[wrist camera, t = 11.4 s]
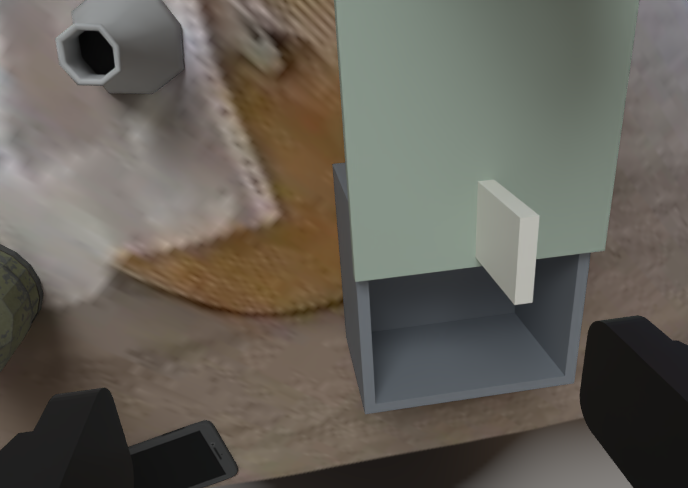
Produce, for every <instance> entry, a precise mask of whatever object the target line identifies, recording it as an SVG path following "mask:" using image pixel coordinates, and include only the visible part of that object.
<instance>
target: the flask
mask: <svg viewBox="0 0 688 488" xmlns="http://www.w3.org/2000/svg"><path fill="white" fill-rule="evenodd" d="M72 19H73V24H72V25H71V26H70V27H69V28H68V29H66V30H65V31H64V32H63V33H61V34H60V35H59V36H58V37H57V38H55V40H56V47H57V53H58V59H59V65H60V66H61V67H62V68H63V69H64V70H65V71H66V73H67V74H68V75H69V76H70V77H71V78H72V79H73V80H74V81H75V83H76V84H77V85H93V86H104V88H105V89H106V90H107V91H108V92H109V93H126V94H153V93H154V92H155V91H157V90H158V89H159V88H161V87H162V86H163V85H164V84H166V83H167V82H168V81H170V80H171V79H172V78H173V77H175V76H176V75H177V74H179V73H180V72H181V71H182V70H184V61H183V47H182V33H181V24H180V23H179V22H178V21H177V19H176V18H175V17H174V15H173V14H172V13H171V12H170V10H169V9H168V8H167V6H166V5H165V4H164V2H163V1H162V0H85V1H84V2H83V3H81V4H80V5H79V6H78V7H77V8H75V9H74V10H73V11H72Z"/></svg>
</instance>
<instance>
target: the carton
mask: <svg viewBox="0 0 688 488" xmlns="http://www.w3.org/2000/svg"><path fill="white" fill-rule="evenodd" d="M332 165H333V177H334V190H335V202H336V214H337V227H338V239H339V252H340V264H341V277H342V289H343V301H344V314H345V326H346V338H347V342H348V346H349V350H350V354H351V358H352V362H353V366H354V371H355V375H356V379H357V383H358V387H359V391H360V395H361V399H362V403H363V407H364V411H365V414H370V413H376V412H383V411H390V410H397V409H403V408H410V407H417V406H424V405H430V404H437V403H444V402H450V401H457V400H464V399H471V398H477V397H484V396H491V395H498V394H504V393H511V392H518V391H525V390H531V389H538V388H545V387H551V386H558V385H565V384H572V383H574V379H575V371H576V364H577V356H578V348H579V340H580V332H581V324H582V317H583V309H584V301H585V293H586V285H587V277H588V269H589V262H590V254H591V252H590V253H582V254H574V255H566V256H558V257H550V258H542V259H536V266H535V278H534V290H533V302H532V303H526V304H518V305H514V304H513V303H512V301H511V300H510V299H509V298H508V296H507V295H506V294H505V293H504V292H503V290H502V289H501V288H500V287H499V285H498V284H497V283H496V282H495V281H494V279H493V278H492V277H491V276H490V274H489V273H488V272H487V271H486V269H485V268H484V267H483V266H479V267H471V268H463V269H455V270H447V271H439V272H431V273H423V274H415V275H407V276H399V277H391V278H383V279H375V280H367V281H359V282H355V279H354V276H353V263H352V248H351V234H350V220H349V206H348V191H347V177H346V163H338V164H332Z"/></svg>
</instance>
